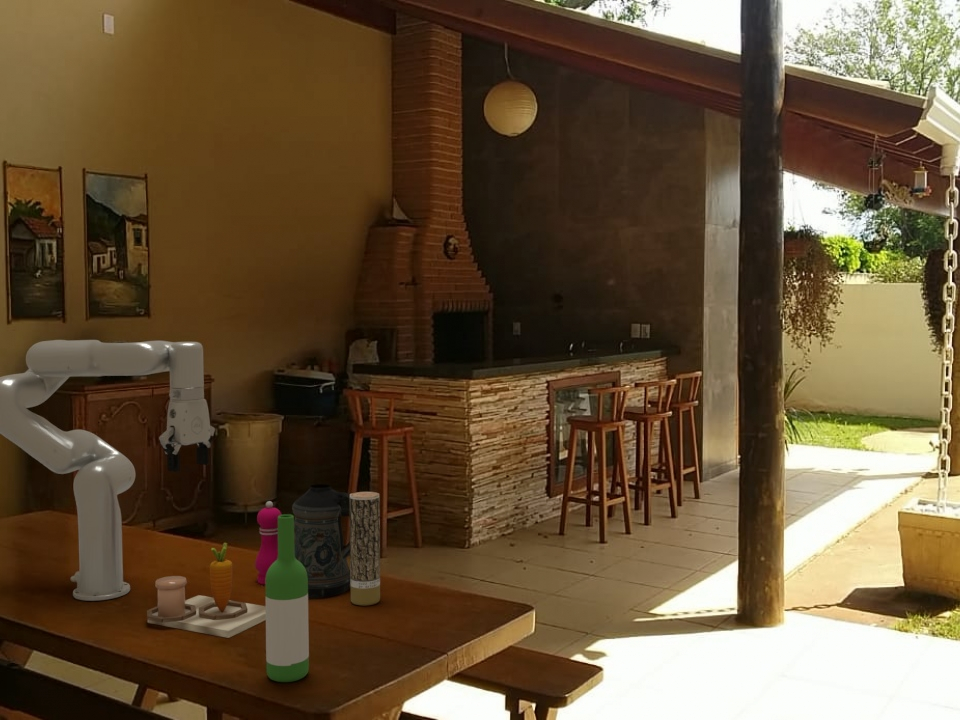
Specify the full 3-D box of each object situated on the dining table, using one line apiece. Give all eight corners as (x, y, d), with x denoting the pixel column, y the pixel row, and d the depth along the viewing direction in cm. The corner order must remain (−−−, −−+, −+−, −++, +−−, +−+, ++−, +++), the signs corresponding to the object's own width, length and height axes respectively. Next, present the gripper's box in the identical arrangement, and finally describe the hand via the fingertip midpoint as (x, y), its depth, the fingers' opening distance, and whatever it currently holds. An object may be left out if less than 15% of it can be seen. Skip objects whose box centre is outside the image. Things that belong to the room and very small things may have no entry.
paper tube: (385, 599, 221) (385, 493, 220) (370, 608, 215) (369, 498, 214) (360, 595, 224) (359, 490, 223) (344, 604, 218) (343, 496, 216)
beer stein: (276, 583, 234) (274, 482, 233) (353, 574, 242) (352, 476, 240) (290, 602, 219) (289, 495, 218) (372, 592, 227) (371, 488, 225)
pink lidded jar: (149, 616, 205) (148, 582, 205) (170, 607, 211) (170, 574, 210) (172, 620, 202) (171, 586, 202) (193, 611, 208) (192, 578, 208)
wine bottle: (316, 677, 176) (314, 516, 174) (276, 687, 171) (274, 522, 169) (298, 664, 182) (296, 509, 180) (259, 673, 178) (257, 514, 176)
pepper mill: (288, 577, 239) (288, 498, 238) (280, 585, 232) (279, 504, 231) (260, 576, 240) (259, 497, 239) (251, 585, 233) (250, 504, 232)
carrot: (213, 616, 205) (211, 548, 204) (208, 610, 209) (206, 543, 208) (236, 613, 207) (234, 544, 206) (231, 606, 212) (229, 540, 211)
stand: (137, 624, 204) (136, 614, 204) (195, 600, 220) (195, 591, 220) (222, 641, 194) (221, 630, 194) (276, 614, 211) (276, 604, 211)
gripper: (172, 399, 213) (174, 475, 214) (224, 392, 228) (225, 463, 229) (147, 397, 216) (149, 472, 217) (200, 390, 231) (201, 460, 232)
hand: (188, 467), depth 223 cm, fingers open, 9 cm apart
